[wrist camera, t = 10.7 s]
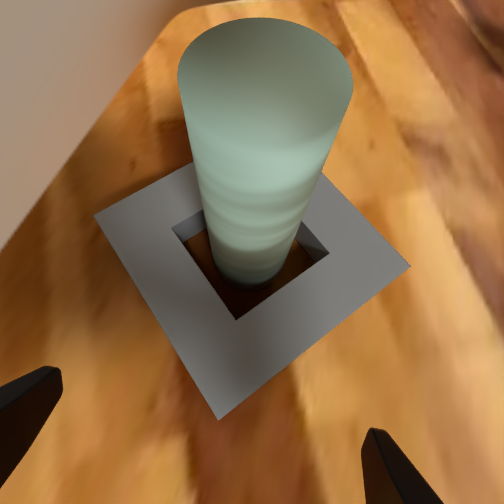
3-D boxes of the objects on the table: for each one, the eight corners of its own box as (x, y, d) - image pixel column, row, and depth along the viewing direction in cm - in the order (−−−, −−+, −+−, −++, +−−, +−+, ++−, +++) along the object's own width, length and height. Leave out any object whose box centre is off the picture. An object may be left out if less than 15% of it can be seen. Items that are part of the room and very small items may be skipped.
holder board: (221, 414, 17) (218, 420, 14) (109, 233, 20) (92, 215, 18) (390, 279, 20) (410, 266, 17) (268, 144, 23) (271, 119, 21)
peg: (258, 305, 19) (295, 175, 7) (199, 265, 20) (139, 85, 8) (296, 249, 20) (381, 62, 8) (240, 214, 21) (244, -3, 9)
